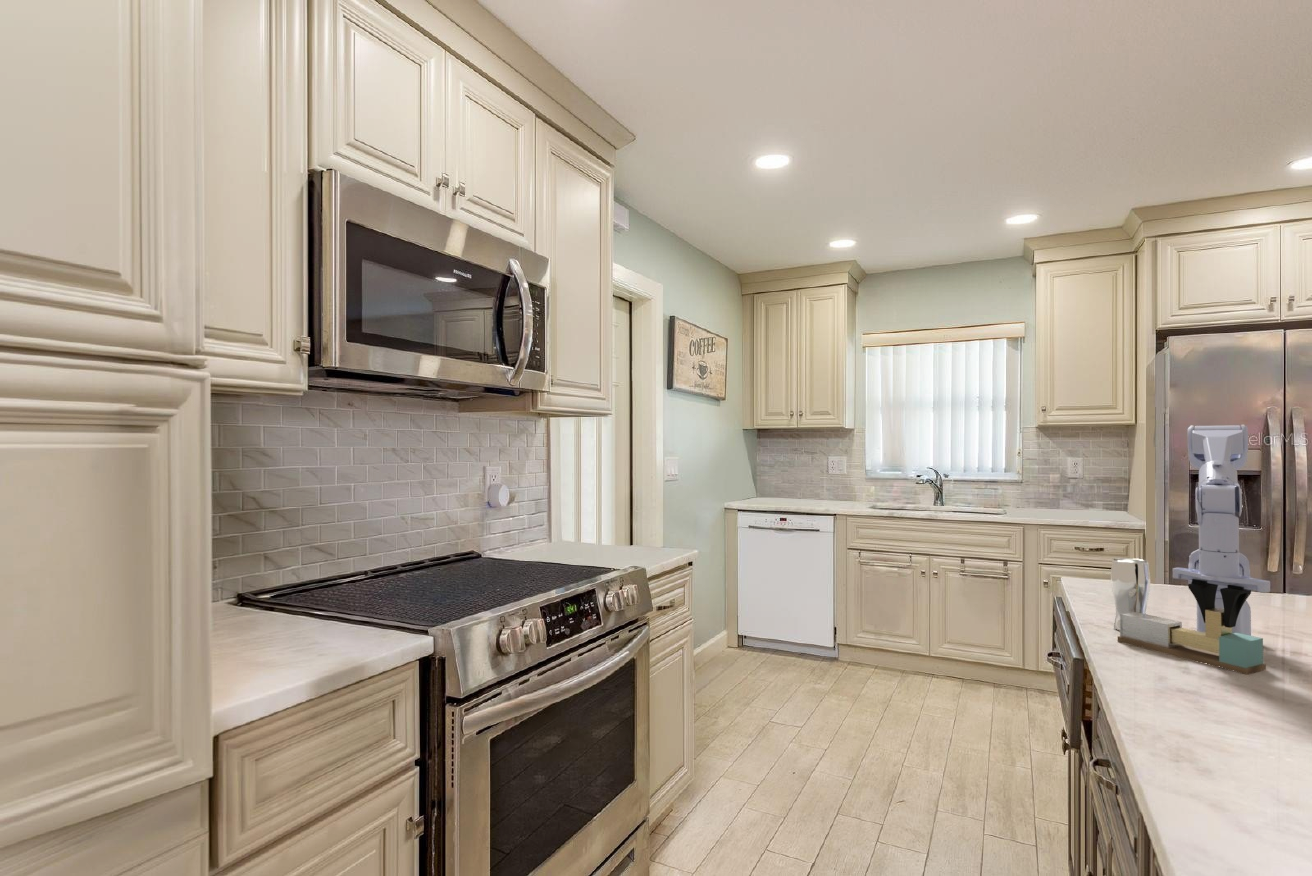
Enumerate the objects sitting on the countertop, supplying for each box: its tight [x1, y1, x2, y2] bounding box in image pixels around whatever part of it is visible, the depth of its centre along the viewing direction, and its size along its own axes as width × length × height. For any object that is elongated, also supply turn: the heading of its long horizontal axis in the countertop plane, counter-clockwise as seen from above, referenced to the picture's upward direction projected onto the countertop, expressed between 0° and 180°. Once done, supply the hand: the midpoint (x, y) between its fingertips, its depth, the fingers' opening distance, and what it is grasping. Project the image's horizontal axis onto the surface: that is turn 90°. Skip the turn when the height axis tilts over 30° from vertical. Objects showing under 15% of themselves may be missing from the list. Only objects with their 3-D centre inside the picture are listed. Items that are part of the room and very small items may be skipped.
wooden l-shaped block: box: [1170, 608, 1232, 654], centre depth 129 cm, size 4×13×8 cm, turn 25°
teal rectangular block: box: [1219, 633, 1264, 668], centre depth 123 cm, size 6×4×4 cm
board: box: [1117, 635, 1267, 675], centre depth 131 cm, size 6×22×1 cm, turn 25°
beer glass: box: [1110, 557, 1151, 631], centre depth 148 cm, size 7×7×15 cm
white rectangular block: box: [1119, 612, 1183, 648], centre depth 137 cm, size 4×9×4 cm, turn 25°
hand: (1219, 624), depth 126 cm, fingers open, 3 cm apart
